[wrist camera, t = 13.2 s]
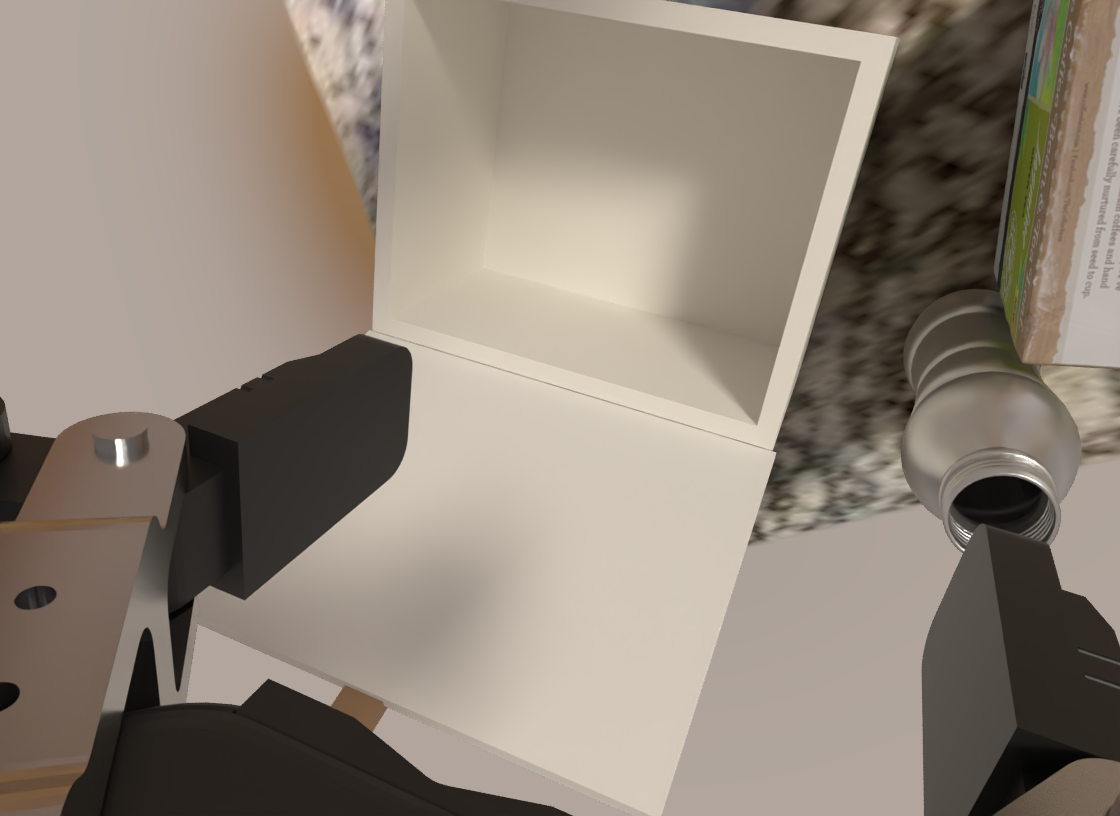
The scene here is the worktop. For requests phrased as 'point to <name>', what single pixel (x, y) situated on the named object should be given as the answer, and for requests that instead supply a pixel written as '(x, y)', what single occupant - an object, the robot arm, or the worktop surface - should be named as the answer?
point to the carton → (620, 194)
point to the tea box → (1065, 190)
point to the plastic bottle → (983, 424)
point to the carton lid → (524, 579)
